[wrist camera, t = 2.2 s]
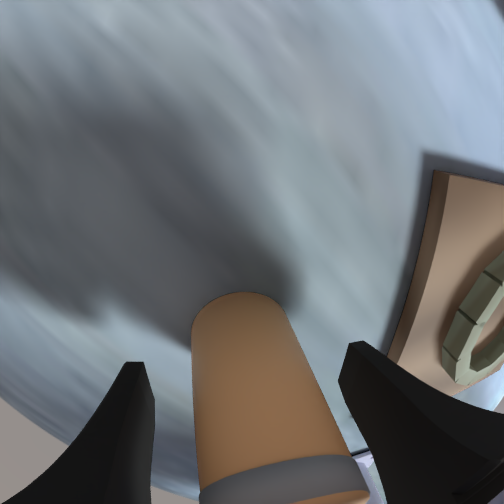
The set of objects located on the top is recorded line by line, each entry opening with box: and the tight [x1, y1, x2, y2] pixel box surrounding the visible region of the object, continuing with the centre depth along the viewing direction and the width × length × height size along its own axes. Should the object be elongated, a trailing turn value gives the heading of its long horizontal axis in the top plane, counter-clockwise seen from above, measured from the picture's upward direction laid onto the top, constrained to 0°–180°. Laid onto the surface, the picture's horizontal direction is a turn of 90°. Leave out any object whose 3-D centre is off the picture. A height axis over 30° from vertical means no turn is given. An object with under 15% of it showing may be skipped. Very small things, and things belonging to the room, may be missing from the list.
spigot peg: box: [191, 292, 371, 504], centre depth 8 cm, size 4×4×8 cm
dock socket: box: [387, 170, 504, 396], centre depth 14 cm, size 16×16×2 cm
